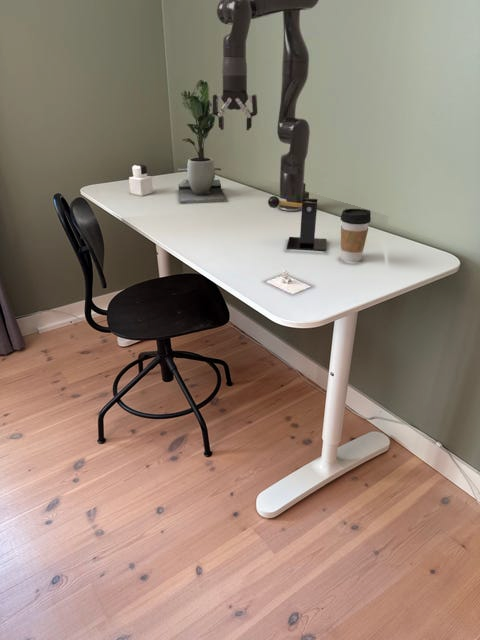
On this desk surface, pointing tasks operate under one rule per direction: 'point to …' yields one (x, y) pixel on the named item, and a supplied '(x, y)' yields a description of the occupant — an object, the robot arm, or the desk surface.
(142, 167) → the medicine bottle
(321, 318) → the desk surface
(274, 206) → the black ball knob lever
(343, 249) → the coffee cup
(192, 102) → the potted plant
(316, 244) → the black lever stand
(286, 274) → the adhesive hook
